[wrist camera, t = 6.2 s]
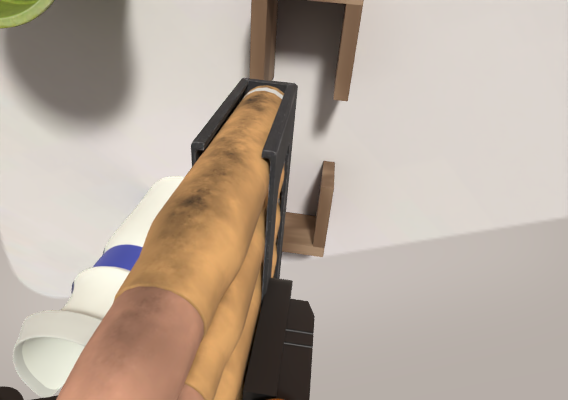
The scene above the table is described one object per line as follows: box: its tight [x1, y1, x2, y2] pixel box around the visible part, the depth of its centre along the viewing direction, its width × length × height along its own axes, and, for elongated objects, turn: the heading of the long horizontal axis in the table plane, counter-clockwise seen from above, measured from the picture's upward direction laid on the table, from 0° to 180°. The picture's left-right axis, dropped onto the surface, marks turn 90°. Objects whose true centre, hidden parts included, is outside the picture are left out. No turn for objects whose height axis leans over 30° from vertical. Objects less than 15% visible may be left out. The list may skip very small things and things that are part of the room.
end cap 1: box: [250, 0, 364, 101], centre depth 27 cm, size 7×7×5 cm
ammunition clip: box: [56, 78, 298, 400], centre depth 10 cm, size 11×2×12 cm, turn 176°
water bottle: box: [13, 176, 185, 397], centre depth 29 cm, size 8×8×25 cm
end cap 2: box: [282, 161, 335, 257], centre depth 34 cm, size 7×7×5 cm
